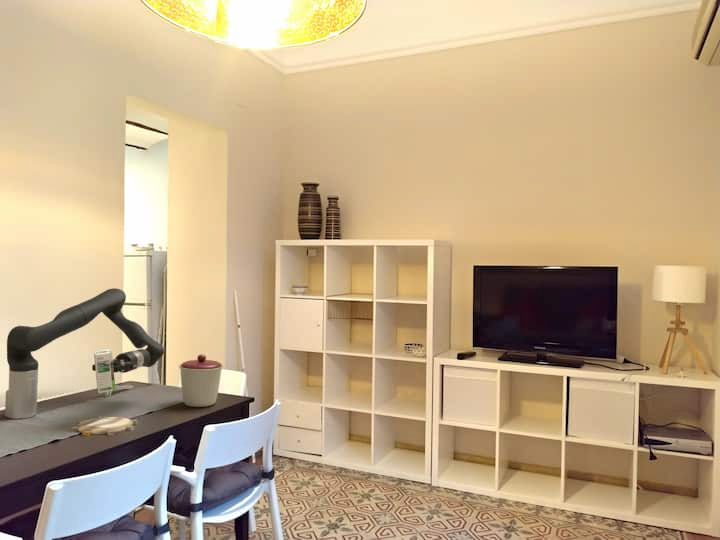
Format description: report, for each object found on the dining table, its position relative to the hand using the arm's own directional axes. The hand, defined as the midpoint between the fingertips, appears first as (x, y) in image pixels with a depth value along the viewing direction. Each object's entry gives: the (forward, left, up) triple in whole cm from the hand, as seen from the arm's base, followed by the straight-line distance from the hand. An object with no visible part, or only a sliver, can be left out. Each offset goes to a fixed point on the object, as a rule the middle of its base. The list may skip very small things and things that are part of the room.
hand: (103, 368), depth 201 cm
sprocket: (+4, -4, -20) cm, 20 cm away
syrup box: (0, +2, -8) cm, 8 cm away
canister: (+20, +36, -20) cm, 46 cm away
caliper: (-22, +44, -20) cm, 53 cm away
